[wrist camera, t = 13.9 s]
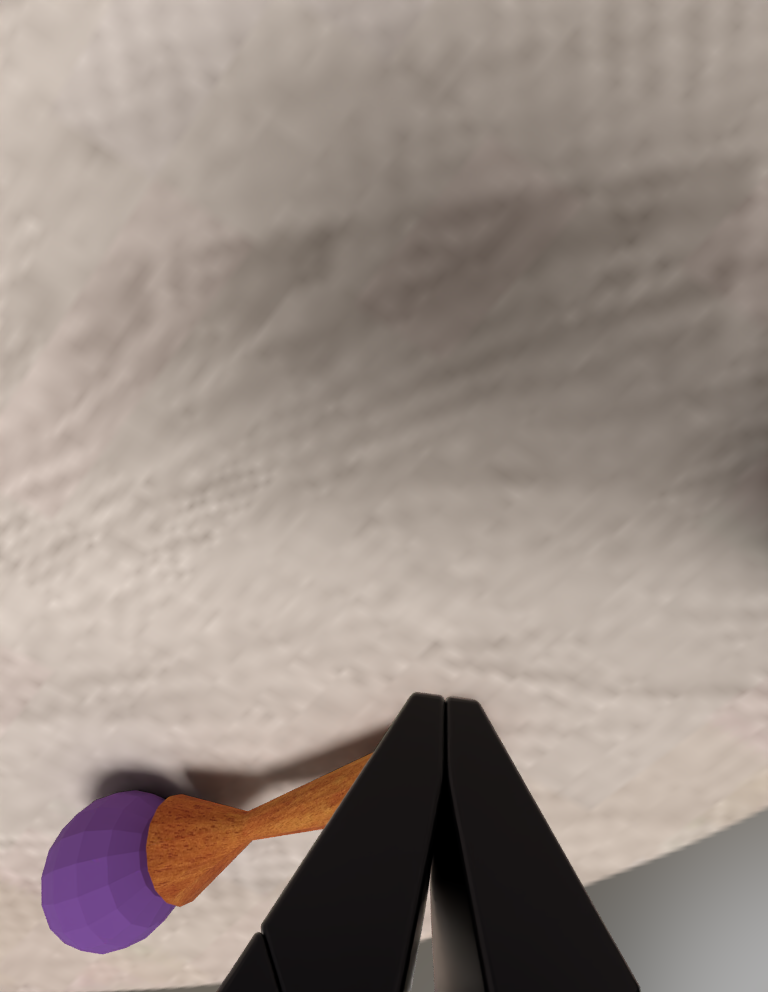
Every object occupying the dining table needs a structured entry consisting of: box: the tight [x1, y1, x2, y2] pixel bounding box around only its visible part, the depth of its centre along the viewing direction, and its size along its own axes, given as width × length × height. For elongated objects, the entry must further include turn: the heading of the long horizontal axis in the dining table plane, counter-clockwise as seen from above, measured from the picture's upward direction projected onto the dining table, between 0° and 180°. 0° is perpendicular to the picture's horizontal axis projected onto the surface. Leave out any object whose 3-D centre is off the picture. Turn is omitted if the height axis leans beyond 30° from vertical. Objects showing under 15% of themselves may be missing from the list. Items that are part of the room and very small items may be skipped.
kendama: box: [41, 753, 373, 954], centre depth 24 cm, size 6×6×20 cm
